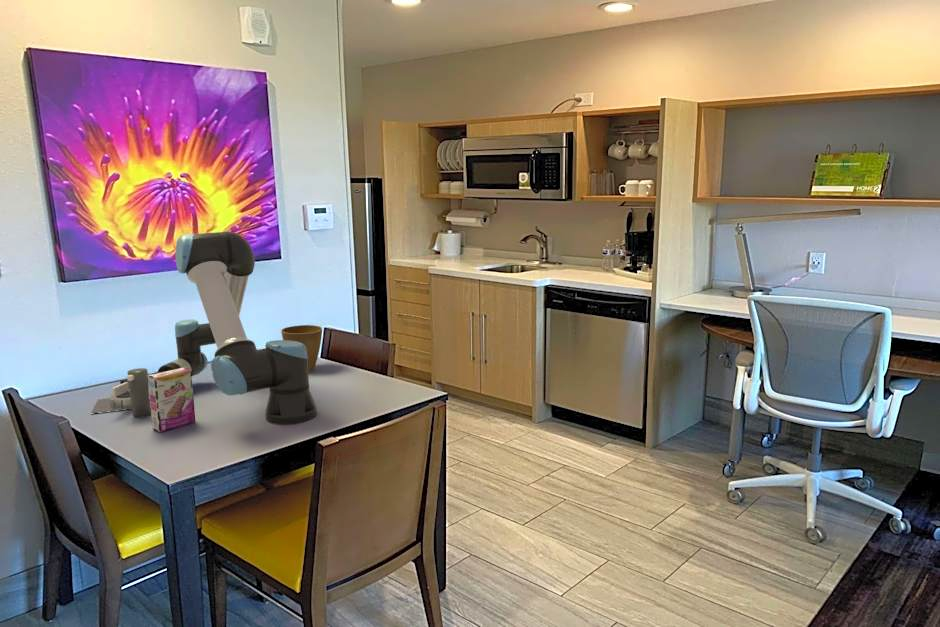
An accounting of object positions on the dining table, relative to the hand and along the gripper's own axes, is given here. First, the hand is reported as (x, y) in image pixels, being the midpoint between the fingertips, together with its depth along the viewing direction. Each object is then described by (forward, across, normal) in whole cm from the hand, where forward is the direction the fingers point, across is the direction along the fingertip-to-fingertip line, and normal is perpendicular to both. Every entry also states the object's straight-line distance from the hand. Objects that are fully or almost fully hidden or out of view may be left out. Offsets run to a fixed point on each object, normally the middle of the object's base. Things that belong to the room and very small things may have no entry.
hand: (131, 393), depth 206 cm
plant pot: (-56, -31, -8) cm, 65 cm away
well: (-13, +11, -8) cm, 18 cm away
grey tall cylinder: (-4, 0, -8) cm, 9 cm away
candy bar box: (+4, -16, -8) cm, 19 cm away
